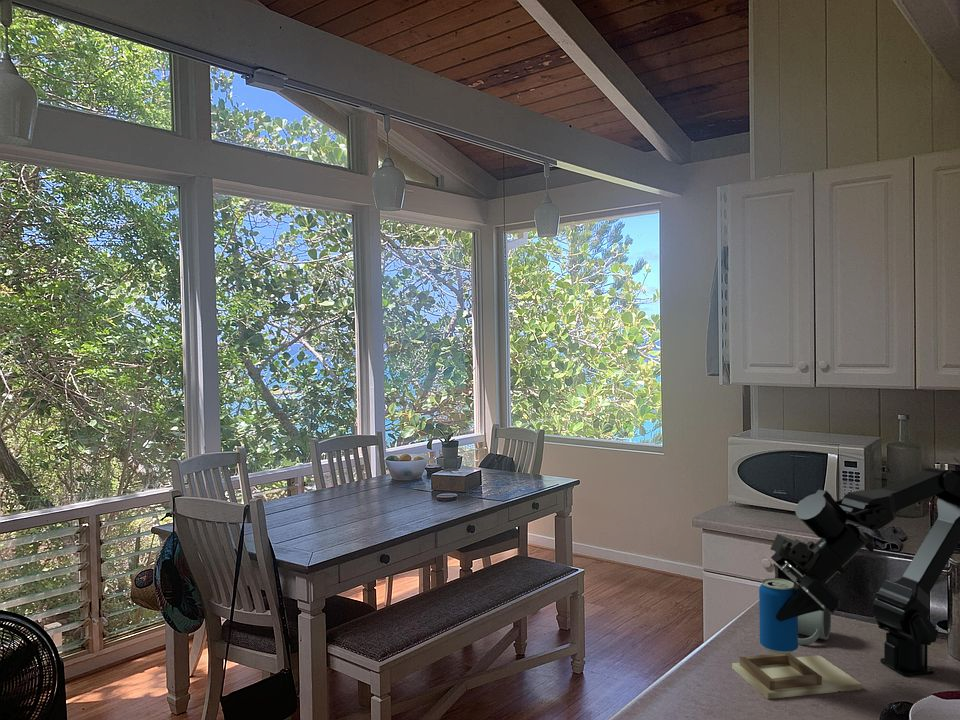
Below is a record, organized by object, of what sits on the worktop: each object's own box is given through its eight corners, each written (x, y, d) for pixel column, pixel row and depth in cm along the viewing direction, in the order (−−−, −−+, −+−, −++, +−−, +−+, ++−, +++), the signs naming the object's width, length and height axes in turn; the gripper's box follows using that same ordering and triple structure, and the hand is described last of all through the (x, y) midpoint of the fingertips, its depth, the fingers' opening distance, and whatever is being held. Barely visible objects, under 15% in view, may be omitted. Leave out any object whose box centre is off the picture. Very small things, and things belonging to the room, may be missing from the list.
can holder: (818, 660, 142) (819, 647, 141) (861, 689, 130) (861, 675, 130) (732, 668, 138) (732, 655, 138) (767, 698, 127) (767, 684, 127)
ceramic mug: (790, 624, 160) (790, 589, 159) (831, 632, 155) (831, 596, 155) (778, 641, 151) (778, 604, 151) (821, 651, 146) (821, 613, 146)
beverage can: (766, 638, 138) (766, 575, 138) (802, 646, 134) (802, 581, 134) (754, 649, 134) (753, 584, 133) (791, 659, 129) (790, 591, 129)
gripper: (781, 508, 142) (724, 565, 143) (820, 534, 124) (754, 599, 125) (823, 548, 142) (765, 605, 143) (869, 580, 124) (802, 645, 124)
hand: (770, 612), depth 134 cm, fingers closed on beverage can, 6 cm apart
